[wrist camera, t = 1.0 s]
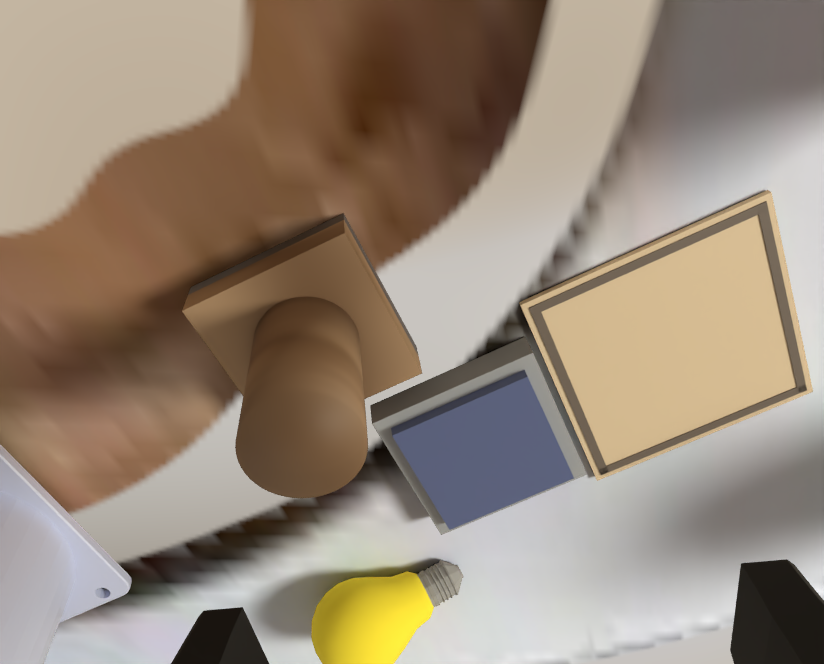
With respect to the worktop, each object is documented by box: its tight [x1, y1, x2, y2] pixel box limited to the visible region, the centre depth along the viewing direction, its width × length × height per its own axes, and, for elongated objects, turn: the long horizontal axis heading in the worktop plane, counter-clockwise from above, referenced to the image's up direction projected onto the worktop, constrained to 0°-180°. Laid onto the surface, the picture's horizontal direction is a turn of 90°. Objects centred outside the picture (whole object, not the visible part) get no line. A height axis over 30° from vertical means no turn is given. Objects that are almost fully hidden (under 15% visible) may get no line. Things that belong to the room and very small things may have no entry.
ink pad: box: [371, 337, 587, 535], centre depth 24 cm, size 6×6×1 cm
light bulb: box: [311, 560, 463, 664], centre depth 27 cm, size 3×6×4 cm, turn 107°
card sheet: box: [519, 190, 813, 481], centre depth 24 cm, size 8×8×1 cm
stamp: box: [182, 213, 422, 498], centre depth 20 cm, size 5×5×6 cm
